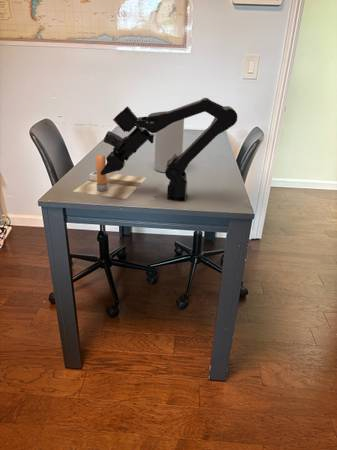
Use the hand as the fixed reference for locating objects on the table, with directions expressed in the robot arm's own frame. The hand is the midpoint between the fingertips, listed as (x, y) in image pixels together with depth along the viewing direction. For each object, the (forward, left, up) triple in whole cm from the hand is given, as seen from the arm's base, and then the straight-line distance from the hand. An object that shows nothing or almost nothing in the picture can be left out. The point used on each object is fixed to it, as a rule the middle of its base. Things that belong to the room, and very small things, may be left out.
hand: (103, 170), depth 124 cm
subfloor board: (0, -7, -9) cm, 12 cm away
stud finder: (+7, -10, -8) cm, 14 cm away
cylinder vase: (-15, -38, -10) cm, 42 cm away
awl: (+1, 0, -8) cm, 8 cm away
